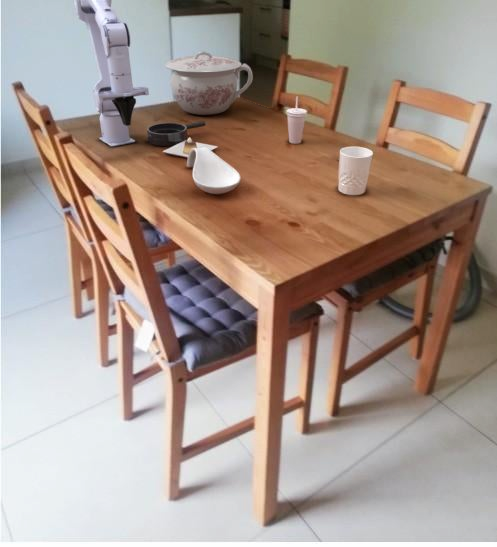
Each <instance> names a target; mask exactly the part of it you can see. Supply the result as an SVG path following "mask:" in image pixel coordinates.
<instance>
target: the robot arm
mask: <svg viewBox="0 0 497 547" xmlns="http://www.w3.org/2000/svg"><path fill="white" fill-rule="evenodd" d="M73 3H74V8H75V11H76V14H77V17H78V19H79V20H80V21H82V22H84V23H85V26H86V28H87V30H88V33H89V38H90V42H91V47H92V51H93V54H94V59H95V64H96V68H97V72H98V77H99V80H98V81H97V82H96V83H95V84H94V86H93V92H92V93H93V98H94V104H95V108H96V110H97V112H98V113H99V114H100V115H99V127H100V131H101V136H100V137H99V140H100V141H102V142H103V143H105V144H107V145H108V146H110V147H112V148H113V147H118V146H123V145H127V144H133V143H136V140H135V139H134V138H132V137H130V129H129V126H131V125H132V117H133V111H134V108H135V105H137V99H136V98H135V97H140V96H149V95H150V92H149V87H147V86H137V87H134V85H133V76H132V68H131V66H132V65H131V58H130V52H129V50H130V49H129V48H130V46H131V34H130V33H131V32H130V29H129V26H128V23H127V22H126V21H121V19H120V17H119V16H118V14H117V12H116V10H115V9H114V8H113V7H112V0H73Z"/></svg>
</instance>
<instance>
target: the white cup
mask: <svg viewBox="0 0 497 547" xmlns="http://www.w3.org/2000/svg"><path fill="white" fill-rule="evenodd" d="M373 155H374V152H373V151H372V150H371V149H369V148H366V147H362V146H345V147H342V148H341V149H339V160H338V178H337V179H338V186H337V190H338V191H339V192H340V193H341V194H344V195H348V196H359V195H363V194H364V193H366V189H367V182H368V180H369V176H370V170H371V166H372V162H373Z"/></svg>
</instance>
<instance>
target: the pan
mask: <svg viewBox="0 0 497 547" xmlns="http://www.w3.org/2000/svg"><path fill="white" fill-rule="evenodd" d="M146 135H147V141H148V142H149V143H150V144H152V145H153V146H154V145H155V146H159V147H173V146H175V145H177V144H179V143H181V142H183V141H185V140H186V141H187V139H188V129H187V127H186V126H185V124H184V123H183V124H182V123H177V122H159V123H154V124H151V125H149V126H148V127H147V129H146Z"/></svg>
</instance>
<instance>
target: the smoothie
mask: <svg viewBox="0 0 497 547" xmlns="http://www.w3.org/2000/svg"><path fill="white" fill-rule="evenodd" d="M298 105H299V96H298V95H296V96H295V107H294V108H293V107H291V108H288V109H286V116H287V117H286V118H287V129H288V130H287V131H288V142H289V143H290V144H295V145H296V144H297V145H298V144H301V143H302V138H303V134H304V133H303V132H304V127H305V122H306V117H307V115H308V110H307V109H304V108H299V107H298Z"/></svg>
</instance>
